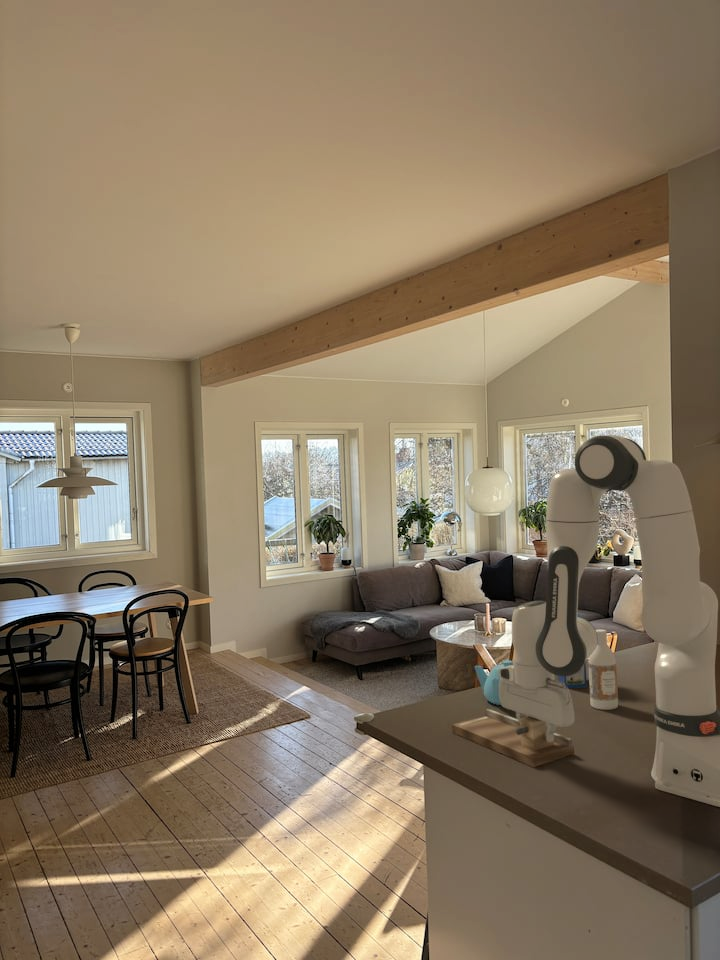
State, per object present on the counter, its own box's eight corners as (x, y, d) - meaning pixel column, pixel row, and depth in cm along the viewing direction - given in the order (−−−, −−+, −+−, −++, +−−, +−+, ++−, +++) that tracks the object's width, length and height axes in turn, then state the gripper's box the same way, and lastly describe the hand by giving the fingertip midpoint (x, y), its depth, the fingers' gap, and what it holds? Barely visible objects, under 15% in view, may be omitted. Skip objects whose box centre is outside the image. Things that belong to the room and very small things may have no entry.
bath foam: (597, 711, 196) (593, 634, 196) (586, 703, 203) (582, 628, 202) (623, 709, 197) (619, 631, 196) (610, 701, 203) (607, 626, 203)
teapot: (548, 705, 203) (546, 665, 203) (494, 711, 200) (492, 670, 200) (524, 690, 218) (522, 652, 218) (474, 695, 215) (473, 657, 215)
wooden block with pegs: (562, 742, 170) (560, 715, 170) (525, 753, 164) (523, 725, 164) (549, 737, 173) (547, 711, 173) (512, 748, 168) (511, 721, 168)
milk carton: (557, 678, 228) (554, 612, 228) (578, 677, 228) (574, 611, 227) (565, 688, 218) (561, 618, 218) (586, 687, 218) (583, 617, 218)
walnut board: (574, 754, 167) (573, 738, 167) (533, 767, 161) (532, 750, 161) (490, 722, 192) (490, 708, 192) (452, 732, 185) (452, 718, 185)
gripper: (579, 681, 161) (582, 746, 161) (513, 663, 179) (516, 722, 179) (557, 686, 158) (561, 753, 158) (493, 668, 176) (496, 727, 176)
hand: (537, 736), depth 169 cm, fingers open, 6 cm apart
